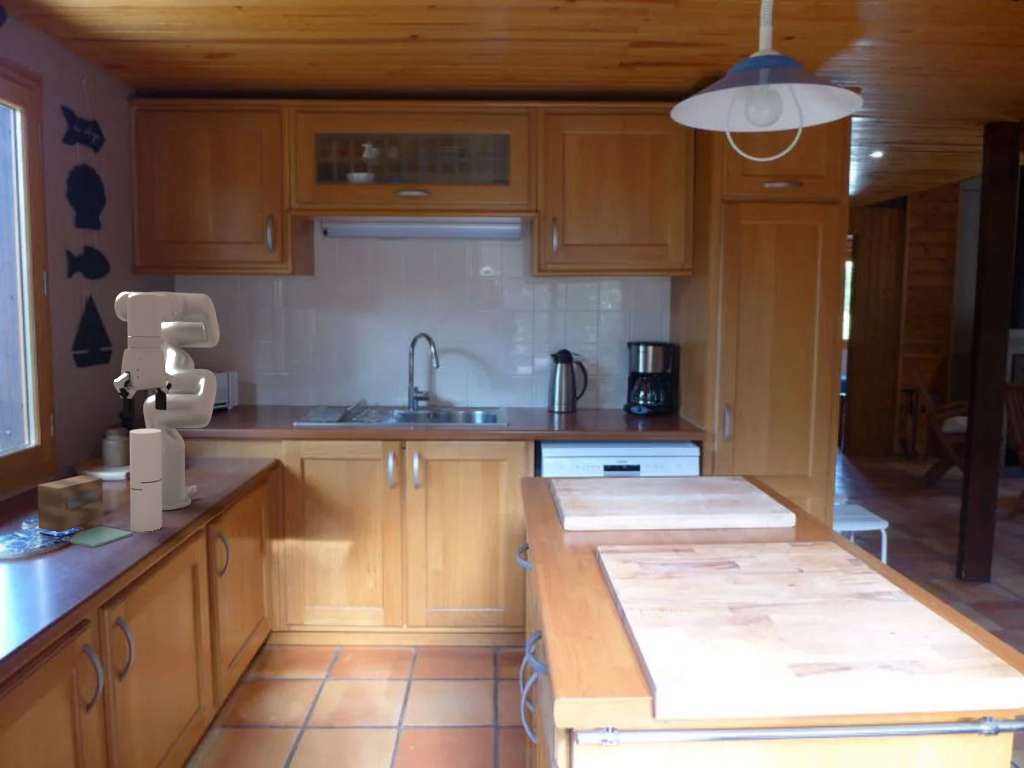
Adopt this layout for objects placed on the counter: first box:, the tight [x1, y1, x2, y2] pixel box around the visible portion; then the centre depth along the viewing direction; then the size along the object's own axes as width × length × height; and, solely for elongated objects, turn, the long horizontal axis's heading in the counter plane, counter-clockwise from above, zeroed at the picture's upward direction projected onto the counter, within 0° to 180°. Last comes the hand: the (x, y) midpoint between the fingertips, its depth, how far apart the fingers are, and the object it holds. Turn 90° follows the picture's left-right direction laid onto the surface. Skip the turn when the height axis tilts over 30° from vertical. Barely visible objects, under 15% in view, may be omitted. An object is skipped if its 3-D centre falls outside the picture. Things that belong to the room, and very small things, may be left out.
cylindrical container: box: [129, 428, 163, 533], centre depth 186 cm, size 7×7×25 cm
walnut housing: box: [37, 474, 104, 532], centre depth 184 cm, size 12×8×12 cm, turn 159°
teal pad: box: [69, 525, 134, 549], centre depth 179 cm, size 11×11×1 cm
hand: (145, 412), depth 184 cm, fingers open, 9 cm apart
